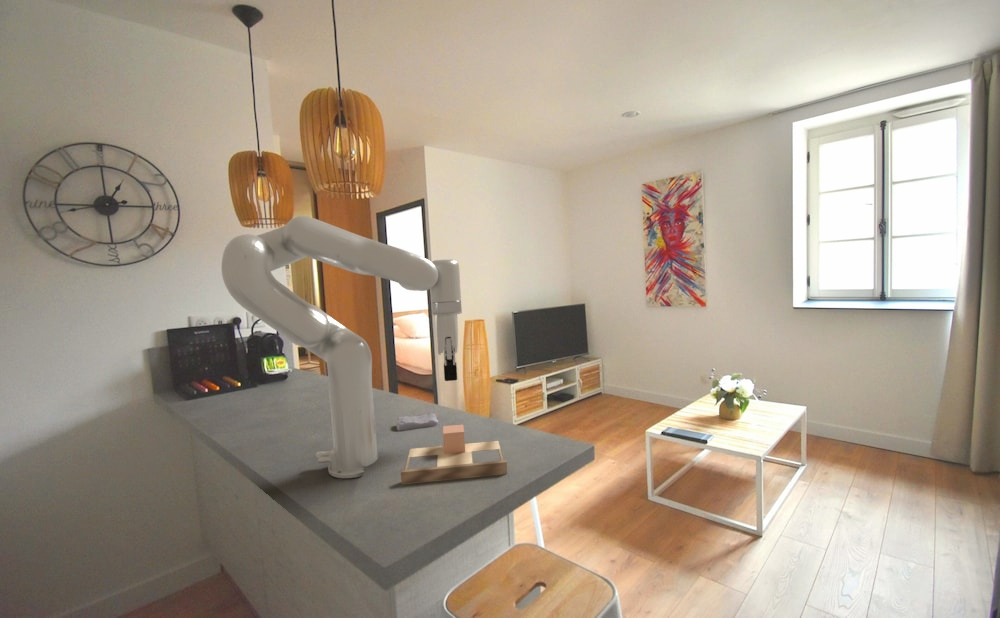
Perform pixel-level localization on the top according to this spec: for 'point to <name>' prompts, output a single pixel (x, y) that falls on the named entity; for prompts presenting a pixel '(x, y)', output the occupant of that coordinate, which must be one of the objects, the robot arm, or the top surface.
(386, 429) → the top surface
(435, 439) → the top surface
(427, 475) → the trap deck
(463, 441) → the terracotta block
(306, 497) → the top surface
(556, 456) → the top surface
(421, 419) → the stone block
